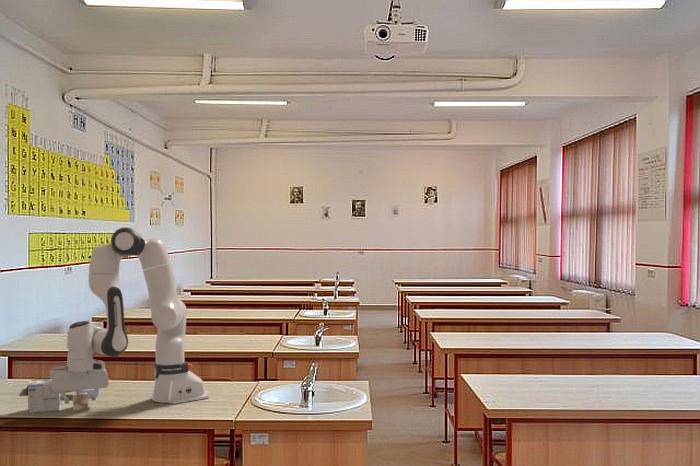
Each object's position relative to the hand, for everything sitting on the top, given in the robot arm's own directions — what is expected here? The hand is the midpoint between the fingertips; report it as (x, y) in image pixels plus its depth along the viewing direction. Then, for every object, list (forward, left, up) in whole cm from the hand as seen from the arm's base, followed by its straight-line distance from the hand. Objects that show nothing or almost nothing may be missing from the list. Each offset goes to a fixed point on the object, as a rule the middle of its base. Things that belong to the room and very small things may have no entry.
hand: (80, 401), depth 250 cm
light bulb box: (+12, -3, -2) cm, 13 cm away
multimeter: (+9, -37, -3) cm, 38 cm away
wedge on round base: (-2, -19, -2) cm, 19 cm away
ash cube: (0, 0, -2) cm, 2 cm away
